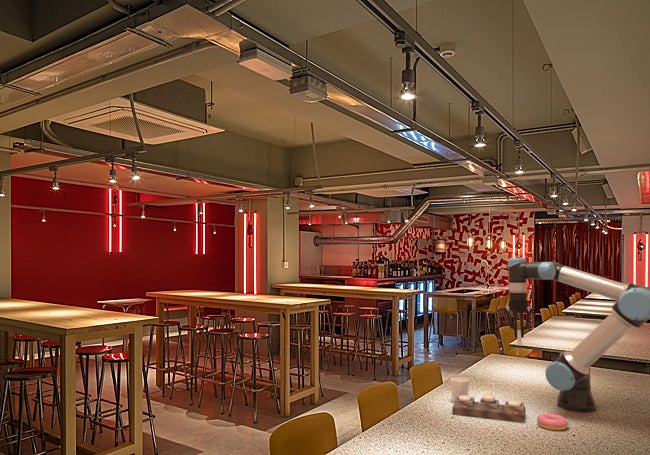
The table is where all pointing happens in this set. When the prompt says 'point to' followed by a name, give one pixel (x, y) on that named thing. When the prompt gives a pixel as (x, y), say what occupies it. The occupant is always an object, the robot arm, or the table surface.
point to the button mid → (488, 398)
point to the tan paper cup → (459, 387)
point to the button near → (514, 403)
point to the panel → (489, 410)
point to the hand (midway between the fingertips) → (519, 344)
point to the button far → (464, 398)
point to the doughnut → (552, 421)
